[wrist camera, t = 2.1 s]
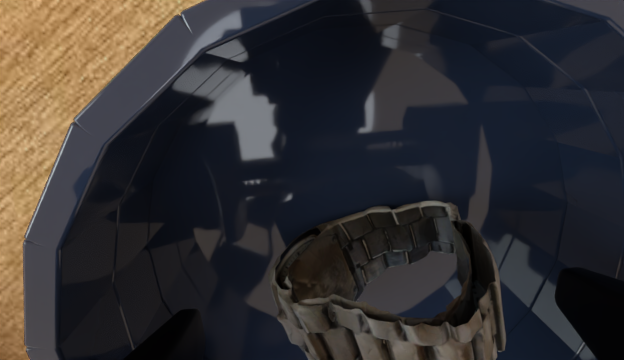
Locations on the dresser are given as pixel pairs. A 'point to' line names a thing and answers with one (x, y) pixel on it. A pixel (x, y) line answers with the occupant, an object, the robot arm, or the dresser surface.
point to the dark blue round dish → (332, 167)
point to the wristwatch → (372, 263)
